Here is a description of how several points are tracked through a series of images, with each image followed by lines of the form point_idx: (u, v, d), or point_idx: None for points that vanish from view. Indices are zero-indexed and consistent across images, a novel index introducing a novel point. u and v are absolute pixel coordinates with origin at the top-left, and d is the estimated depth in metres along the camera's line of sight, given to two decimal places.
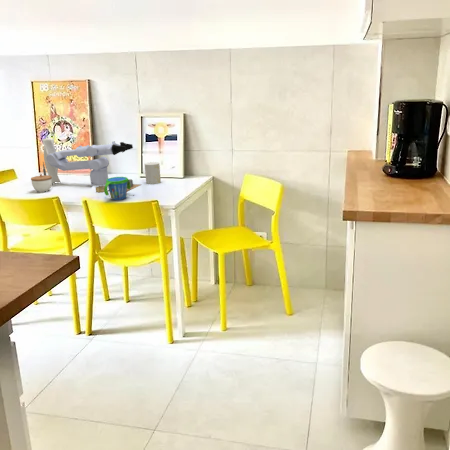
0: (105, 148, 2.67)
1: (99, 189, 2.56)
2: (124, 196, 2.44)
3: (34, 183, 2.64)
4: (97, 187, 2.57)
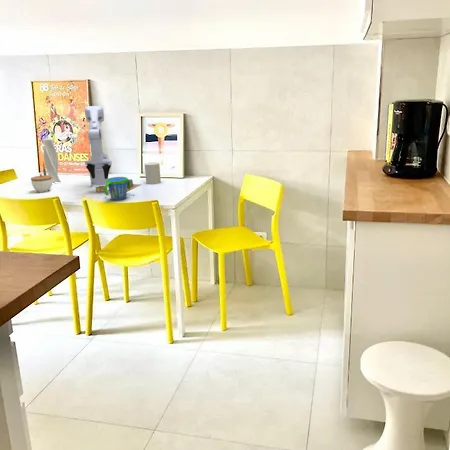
0: None
1: (99, 189, 2.56)
2: (124, 196, 2.44)
3: (34, 183, 2.64)
4: (97, 187, 2.57)
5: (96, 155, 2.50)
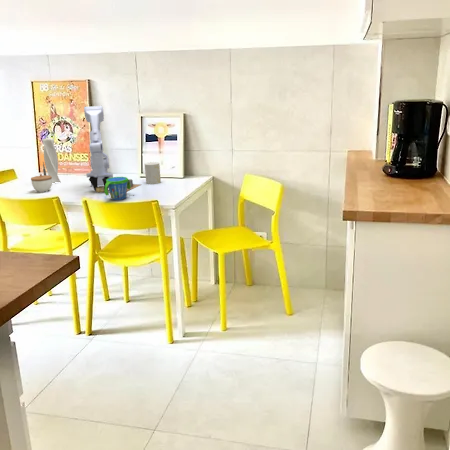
0: None
1: (99, 189, 2.56)
2: (124, 196, 2.44)
3: (34, 183, 2.64)
4: (97, 187, 2.57)
5: (97, 168, 2.52)
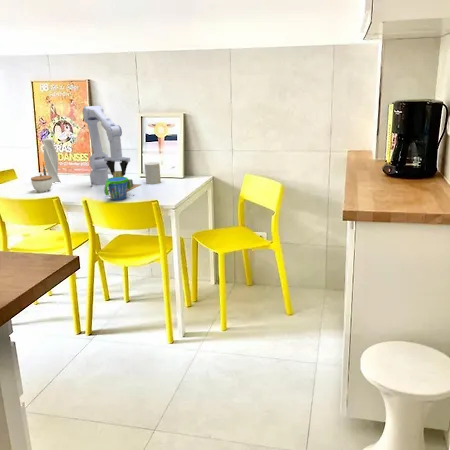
0: None
1: (116, 174, 2.56)
2: (124, 196, 2.44)
3: (34, 183, 2.64)
4: (114, 172, 2.57)
5: (115, 152, 2.52)
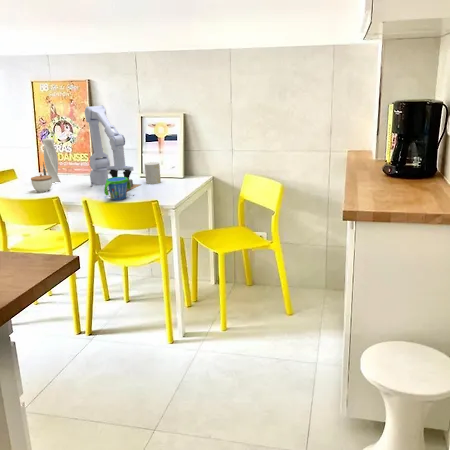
0: None
1: None
2: (124, 196, 2.44)
3: (34, 183, 2.64)
4: None
5: (118, 161, 2.54)
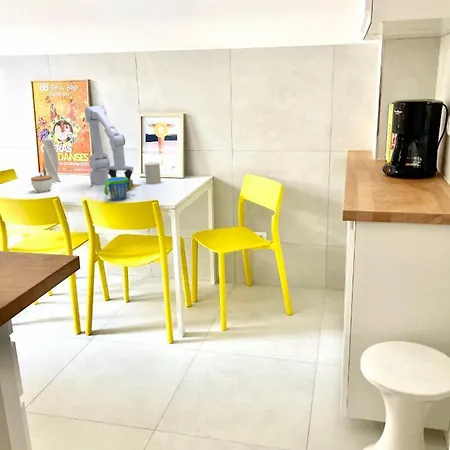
0: None
1: None
2: (124, 196, 2.44)
3: (34, 183, 2.64)
4: None
5: (118, 161, 2.54)
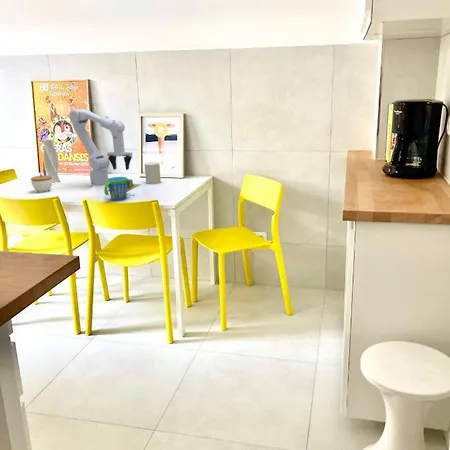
0: None
1: None
2: (124, 196, 2.44)
3: (34, 183, 2.64)
4: None
5: (118, 147, 2.63)
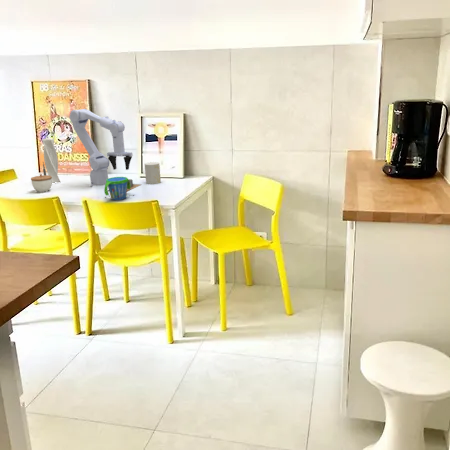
0: None
1: None
2: (124, 196, 2.44)
3: (34, 183, 2.64)
4: None
5: (118, 147, 2.63)
